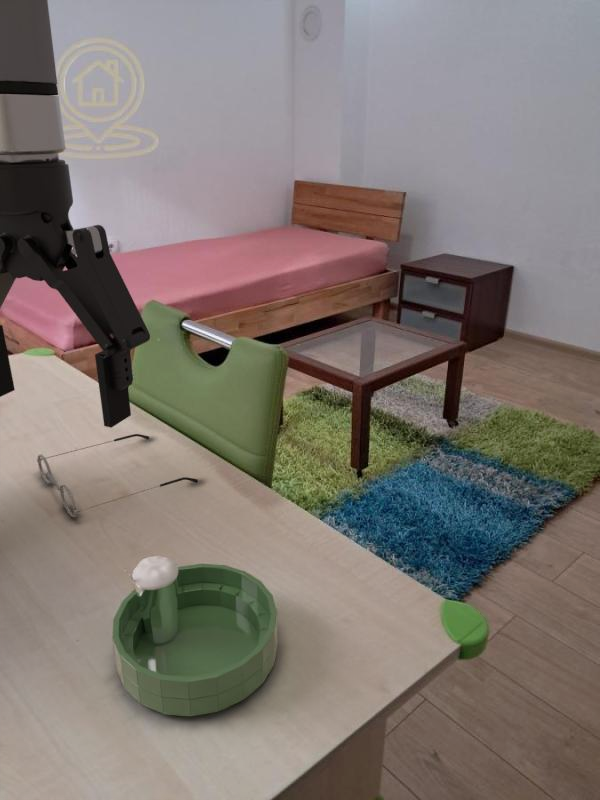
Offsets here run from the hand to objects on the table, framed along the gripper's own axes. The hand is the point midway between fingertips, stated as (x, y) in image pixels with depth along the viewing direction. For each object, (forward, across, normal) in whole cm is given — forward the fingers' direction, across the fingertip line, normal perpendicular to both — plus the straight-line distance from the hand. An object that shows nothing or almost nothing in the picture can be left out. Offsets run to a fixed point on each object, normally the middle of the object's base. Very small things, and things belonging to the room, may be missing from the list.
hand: (56, 407), depth 57 cm
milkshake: (+26, -7, -2) cm, 27 cm away
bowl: (+27, -12, -2) cm, 29 cm away
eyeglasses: (+27, +18, -27) cm, 42 cm away
